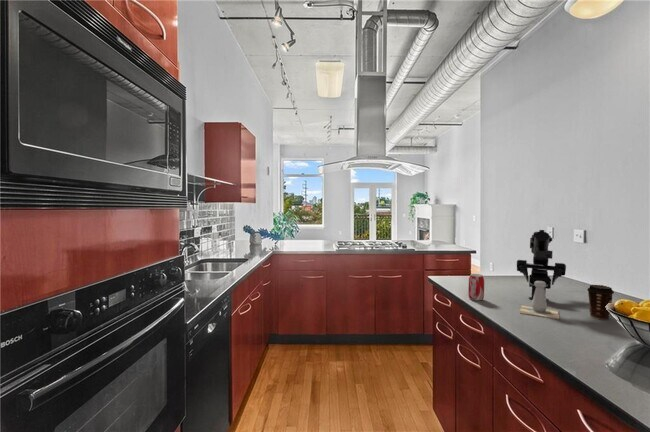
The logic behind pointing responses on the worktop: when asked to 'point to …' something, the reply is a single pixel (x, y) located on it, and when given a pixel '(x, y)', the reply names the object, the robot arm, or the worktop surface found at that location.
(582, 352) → the worktop surface
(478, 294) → the soda can
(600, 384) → the worktop surface
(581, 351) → the worktop surface
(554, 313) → the board
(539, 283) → the salt shaker
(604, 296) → the coffee cup
